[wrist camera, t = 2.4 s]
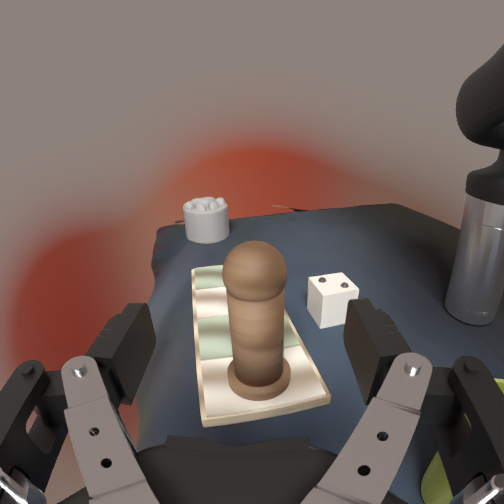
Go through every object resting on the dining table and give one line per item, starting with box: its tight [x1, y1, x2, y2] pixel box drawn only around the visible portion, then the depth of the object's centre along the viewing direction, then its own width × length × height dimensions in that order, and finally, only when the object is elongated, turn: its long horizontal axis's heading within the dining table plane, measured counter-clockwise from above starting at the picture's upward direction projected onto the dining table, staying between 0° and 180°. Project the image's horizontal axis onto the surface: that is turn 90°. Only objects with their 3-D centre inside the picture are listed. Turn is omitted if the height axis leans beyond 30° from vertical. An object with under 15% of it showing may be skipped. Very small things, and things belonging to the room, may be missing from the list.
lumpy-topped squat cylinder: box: [183, 197, 230, 243], centre depth 72 cm, size 10×13×9 cm
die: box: [307, 273, 359, 329], centre depth 39 cm, size 5×5×6 cm
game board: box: [192, 265, 331, 427], centre depth 39 cm, size 32×12×2 cm, turn 11°
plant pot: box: [421, 378, 504, 504], centre depth 12 cm, size 9×9×9 cm
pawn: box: [222, 241, 290, 401], centre depth 25 cm, size 6×6×14 cm
